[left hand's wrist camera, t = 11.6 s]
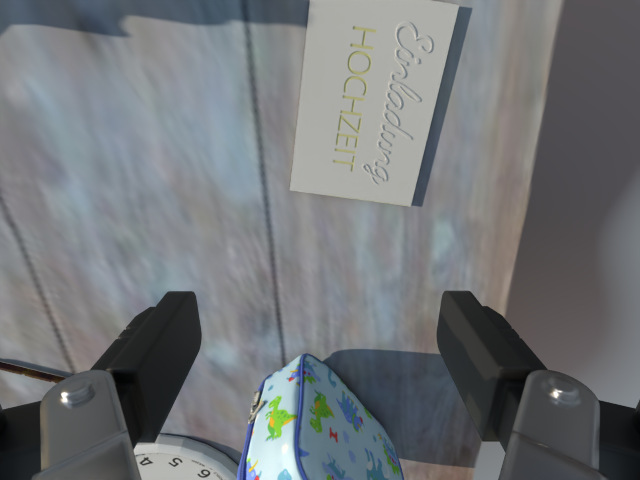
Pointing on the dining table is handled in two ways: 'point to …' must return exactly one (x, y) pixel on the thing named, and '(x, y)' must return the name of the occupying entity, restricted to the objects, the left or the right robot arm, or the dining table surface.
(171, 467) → the wall clock
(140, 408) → the left robot arm
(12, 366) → the brown stick
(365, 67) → the invitation card
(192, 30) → the dining table surface
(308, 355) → the lunch box
